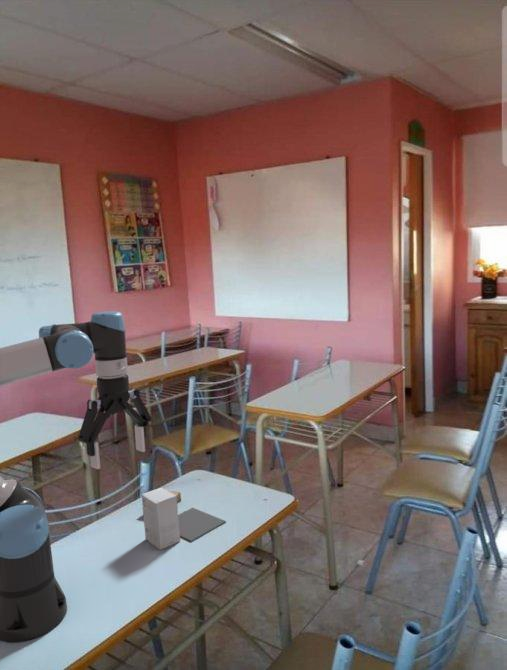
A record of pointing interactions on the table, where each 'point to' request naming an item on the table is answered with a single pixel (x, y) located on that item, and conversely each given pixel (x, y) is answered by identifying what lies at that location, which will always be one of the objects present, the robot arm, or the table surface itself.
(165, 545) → the small box
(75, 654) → the table surface
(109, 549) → the table surface
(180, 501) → the board eraser
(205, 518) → the mat
